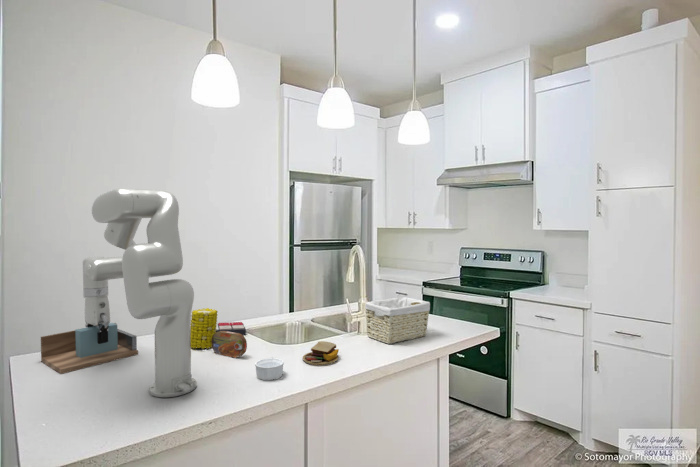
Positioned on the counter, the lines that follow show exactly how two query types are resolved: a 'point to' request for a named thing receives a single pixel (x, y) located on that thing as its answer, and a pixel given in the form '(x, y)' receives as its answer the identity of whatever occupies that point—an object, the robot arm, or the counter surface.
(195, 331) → the food
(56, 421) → the counter surface
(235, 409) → the counter surface
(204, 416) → the counter surface
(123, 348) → the shelf
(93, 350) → the book
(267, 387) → the counter surface
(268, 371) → the ramekin
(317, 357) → the toy sandwich meal
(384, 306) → the storage basket
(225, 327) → the red white box
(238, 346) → the tin
